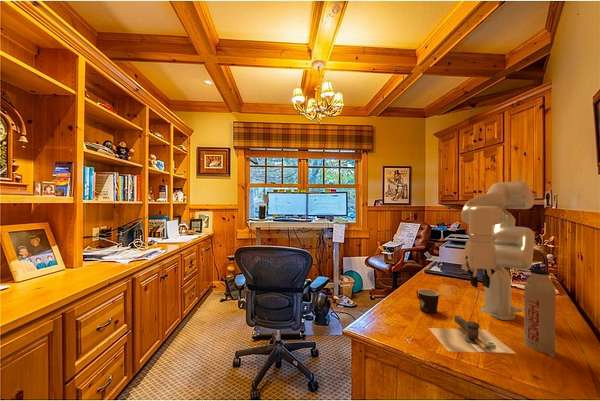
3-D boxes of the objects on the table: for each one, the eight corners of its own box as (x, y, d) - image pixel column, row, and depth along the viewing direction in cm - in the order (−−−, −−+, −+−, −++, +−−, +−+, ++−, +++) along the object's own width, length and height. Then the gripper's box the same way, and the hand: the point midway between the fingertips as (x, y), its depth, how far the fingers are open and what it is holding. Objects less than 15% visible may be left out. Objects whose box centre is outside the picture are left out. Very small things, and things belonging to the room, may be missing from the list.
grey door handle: (490, 349, 89) (490, 333, 89) (478, 348, 89) (478, 332, 89) (461, 324, 107) (461, 311, 107) (452, 324, 107) (452, 310, 107)
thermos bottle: (539, 358, 88) (540, 273, 88) (518, 344, 96) (518, 267, 96) (561, 356, 89) (562, 273, 89) (538, 343, 97) (538, 267, 96)
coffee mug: (441, 319, 116) (441, 296, 116) (420, 317, 118) (420, 295, 118) (433, 308, 128) (434, 287, 128) (414, 306, 130) (414, 286, 129)
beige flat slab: (486, 333, 104) (486, 328, 104) (516, 358, 88) (516, 351, 88) (428, 331, 105) (428, 326, 105) (448, 355, 90) (448, 349, 90)
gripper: (496, 237, 105) (496, 283, 105) (453, 237, 106) (452, 283, 106) (510, 240, 98) (509, 290, 98) (463, 240, 99) (463, 289, 99)
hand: (480, 286), depth 102 cm, fingers open, 3 cm apart
